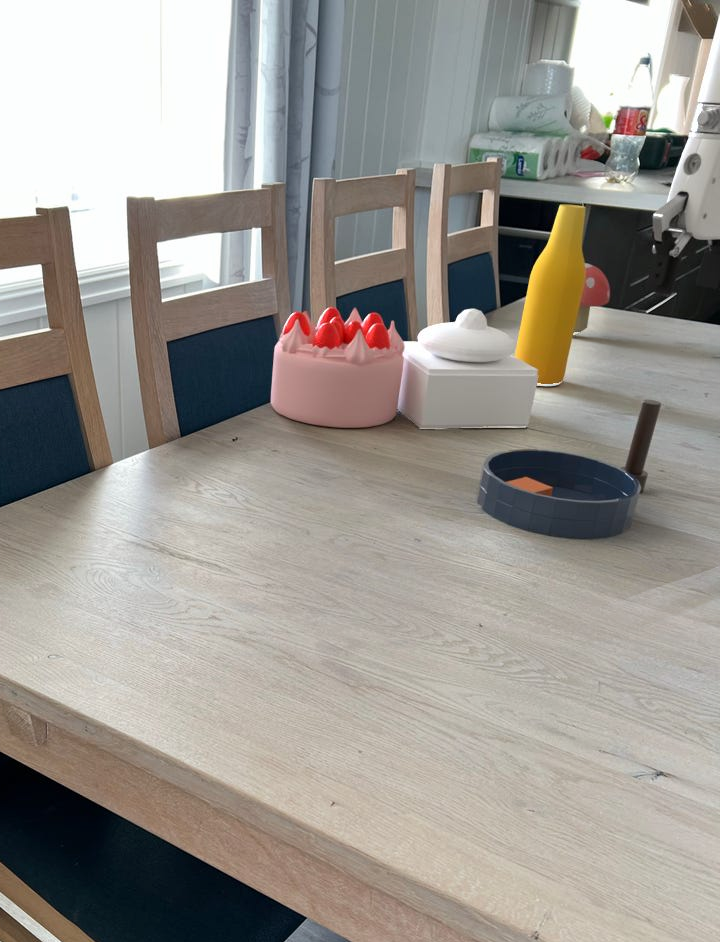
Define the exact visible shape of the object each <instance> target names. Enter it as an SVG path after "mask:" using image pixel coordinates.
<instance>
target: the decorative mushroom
mask: <svg viewBox="0 0 720 942" xmlns="http://www.w3.org/2000/svg"><path fill="white" fill-rule="evenodd" d="M585 269H586V277H585V285H584V289H583V293H582V297H581V302H580V306H579V311H578V315H577V320H576V324H575V328H574V332H580V333H582V332H583V331H585V330H587V328H588V324H589V318H590V317H589V316H590V310H591V307H603V306H605V305H606V304H608V303H609V302H610V298H611V288H610V283H609V281H608V278H607V276H606V274H604V273H603V271H602V270H601V269H600V268H598V267H597V266H595V265H593V264H590V263H586V262H585ZM581 331H582V332H581Z"/></svg>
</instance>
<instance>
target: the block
mask: <svg viewBox="0 0 720 942" xmlns="http://www.w3.org/2000/svg"><path fill="white" fill-rule="evenodd" d="M506 483H508V484H511V485H513V486H515V487H518V488H520V489H524V490H527V491H530V492H533V493H537V494H542V495H546V496H551V495H552V491H553V487H550V486H548V485H545V484H543V483H540V482H538V481H535V480H533V479H530V478H528V477H524V478H520V479H516V480H512V481H508V482H506Z"/></svg>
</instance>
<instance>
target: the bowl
mask: <svg viewBox="0 0 720 942" xmlns="http://www.w3.org/2000/svg"><path fill="white" fill-rule="evenodd" d="M524 477H528V478H530V479H533V480H535V481H538V482H540V483H543V484H545V485H548V486H550V487H553V491H552V495H551V496H546V495H542V494H537V493H533V492H530V491H527V490H524V489H520V488H518V487H515V486H513V485H511V484H508V483H506V482H508V481H512V480H516V479H520V478H524ZM640 490H641V485H640V483H639V481H638V480H637V479H636V478H635V477H634V476H632V475H631V474H630V473H628V472H627V471H625V470H623V469H621V467H619V466H617V465H614V464H612V463H610V462H607V461H604V460H601V459H598V458H594V457H590V456H586V455H583V454H579V453H573V452H567V451H560V450H552V449H539V448H538V449H537V448H518V449H508V450H503V451H498V452H495V453H493V454H491V455H489V456H487V457H486V458H485V459H484V461H483V462H482V467H481V472H480V476H479V483H478V488H477V493H476V501H477V504H478V506H479V507H480V509H481V510H483V512H485V513H486V514H487V515H489V516H490V517H492V518H493V519H494V520H495V519H496V520H497V521H499V522H501V523H504V524H506V525H508V526H511V527H513V528H516V529H519V530H521V531H526V532H529V533H534V534H537V535H543V536H547V537H554V538H560V539H568V540H569V539H570V540H601V539H606V538H607V539H608V538H613V537H616V536H619V535H622V534H624V533H625V532H626V531H628V530H629V529H630V528H631V526H632V522H633V519H634V516H635V511H636V507H637V504H638V501H639V497H640V495H641V494H640Z"/></svg>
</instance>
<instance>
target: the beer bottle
mask: <svg viewBox="0 0 720 942" xmlns="http://www.w3.org/2000/svg"><path fill="white" fill-rule="evenodd" d="M585 219H586V206H583V205H578V204H577V205H576V204H560V205H559V207H558V210H557V213H556V216H555V219H554V223H553V226H552V228H551V232H550V235H549V239H548V240H547V241H548V242H547V244H546V245H545V247H544V249H543V250H542V252H541V253H540V255H539V256H538V258H537V259H536V261H535V263H534V265H533V267H532V270H531V273H530V275H529V281H528V286H527V291H526V296H525V300H524V307H523V311H522V316H521V322H520V327H519V332H518V336H517V342H516V349H515V351H514V355H513V356H514V357H516V358H518V359H520V360H521V361H523V362H525V363H527V364H529V365H530V366H532V367H534V368H536V369H538V373H537V375H538V376H539V377H538V381H537V383H541V384H553V383H559V382H561V381H562V382H563V381H564V378H565V375H566V370H567V366H568V365H567V364H568V361H569V360H568V359H569V354H570V350H571V345H572V341H573V337H574V336H573V333H574V328H575V324H576V320H577V315H578V311H579V306H580V302H581V297H582V293H583V289H584V285H585V277H586V269H585V263H586V261H585V258H584V253H583V237H584V236H583V235H584V227H585V226H584V225H585Z"/></svg>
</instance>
